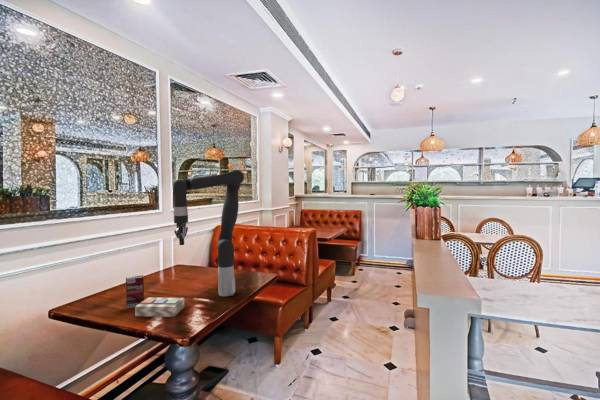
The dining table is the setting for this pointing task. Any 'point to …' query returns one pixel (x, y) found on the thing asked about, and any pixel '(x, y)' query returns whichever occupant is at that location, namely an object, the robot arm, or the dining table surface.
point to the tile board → (159, 308)
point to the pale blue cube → (160, 301)
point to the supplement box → (134, 291)
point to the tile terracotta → (148, 301)
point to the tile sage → (172, 301)
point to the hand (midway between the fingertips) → (181, 244)
